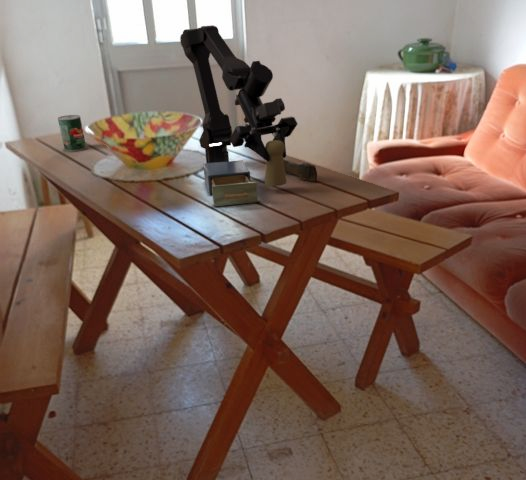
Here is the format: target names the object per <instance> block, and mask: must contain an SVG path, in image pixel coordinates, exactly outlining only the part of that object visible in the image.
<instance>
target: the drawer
mask: <svg viewBox="0 0 526 480" xmlns="http://www.w3.org/2000/svg"><path fill="white" fill-rule="evenodd" d="M211 188H212V193H213V195H212V202H213V204H212V205H213V206H214V207H222V206H223V207H224V206H230V205H231V206H232V205H242V204H251V203H258V183H257V181H251V180H250V181H249V179H248V178H247V176H246V174H242V175H232V176H221V177H211Z"/></svg>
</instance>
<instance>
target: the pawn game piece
mask: <svg viewBox="0 0 526 480" xmlns="http://www.w3.org/2000/svg"><path fill="white" fill-rule="evenodd" d="M264 146H265V148H266V150H267V152H268V155H269V158H270V160H269V161H266V166H265V174H264V175H265V176H264V177H265V179H264V184H265V185H267V186H271V187H279V186H284V185H286V184H287V176H286V175H287V174H286V172H285V167H284V160H285V159H284V158H283V152H284V149H285V147H286V145H285V146H284V143H283V142H282V141H278V140H273V139H272V140H269V141H267V142H266V143H265V145H264Z"/></svg>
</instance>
